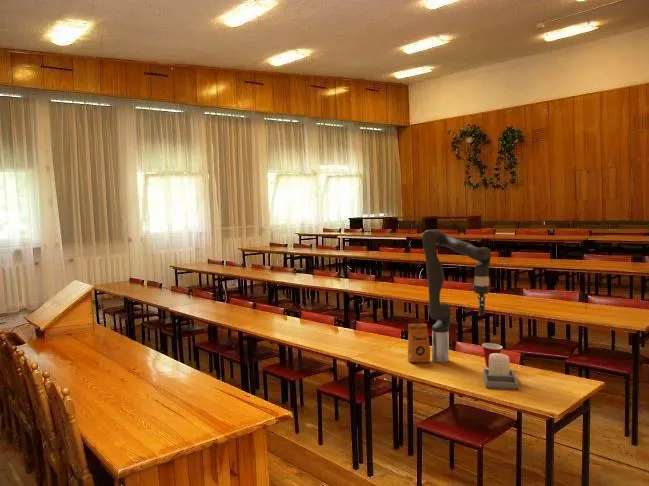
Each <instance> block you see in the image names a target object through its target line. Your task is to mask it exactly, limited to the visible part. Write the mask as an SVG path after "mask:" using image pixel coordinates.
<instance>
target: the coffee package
mask: <svg viewBox="0 0 649 486" xmlns="http://www.w3.org/2000/svg"><path fill="white" fill-rule="evenodd" d="M407 327H408V333H407V342H408V343H407V360H408V361H409V363H423V364H425V363H430V360H431V347H430V339H429V332H428V324H427V323H408V326H407Z"/></svg>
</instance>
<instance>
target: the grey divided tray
mask: <svg viewBox="0 0 649 486" xmlns="http://www.w3.org/2000/svg"><path fill="white" fill-rule="evenodd" d="M482 370H483V371H482V372H483V380H484V386H485V389H496V390H497V389H499V390H511V391H512V390H513V391H514V390H517V391H518V390H519V382H518V380H517V377H516V374H515V370H512V369H511V370H510V369H509V376H496V375H489V368H483V369H482Z"/></svg>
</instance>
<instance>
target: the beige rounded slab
mask: <svg viewBox="0 0 649 486" xmlns="http://www.w3.org/2000/svg"><path fill="white" fill-rule="evenodd" d="M510 364H511V363H510V356H509V355H508V354H503V353H501V352H500V353H493V354H490V356H489V367H488V369H489V375H496V376H509V370H510Z"/></svg>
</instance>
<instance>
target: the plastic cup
mask: <svg viewBox="0 0 649 486" xmlns="http://www.w3.org/2000/svg"><path fill="white" fill-rule="evenodd" d="M481 345H482V350H483V356H484V361H485V366H486V368H489V356H490V354H493V353H500V354H501V351H502V349H503V346H502V345H500V344H497V343H493V342H492V343H491V342H483V343H482V344H481Z"/></svg>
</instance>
